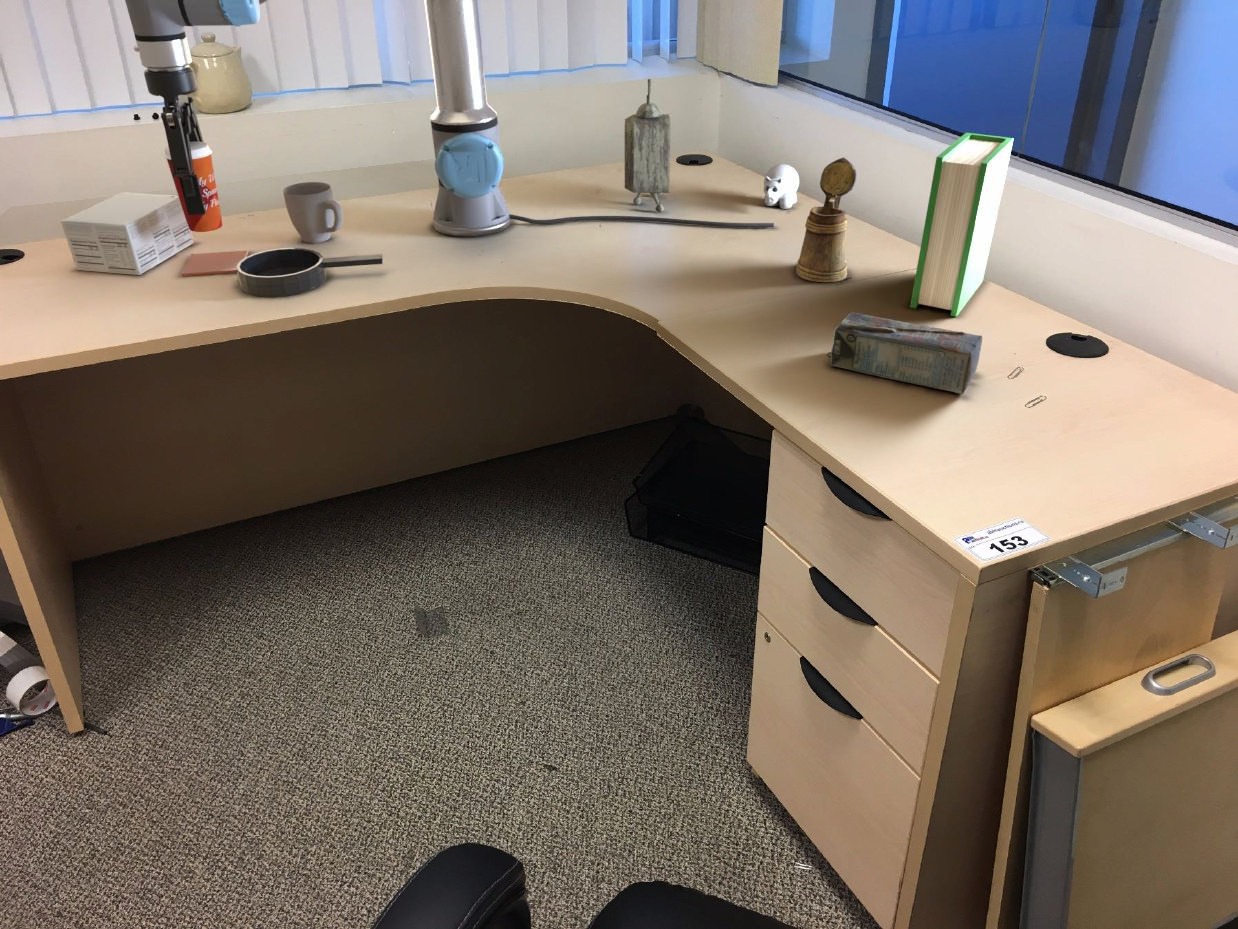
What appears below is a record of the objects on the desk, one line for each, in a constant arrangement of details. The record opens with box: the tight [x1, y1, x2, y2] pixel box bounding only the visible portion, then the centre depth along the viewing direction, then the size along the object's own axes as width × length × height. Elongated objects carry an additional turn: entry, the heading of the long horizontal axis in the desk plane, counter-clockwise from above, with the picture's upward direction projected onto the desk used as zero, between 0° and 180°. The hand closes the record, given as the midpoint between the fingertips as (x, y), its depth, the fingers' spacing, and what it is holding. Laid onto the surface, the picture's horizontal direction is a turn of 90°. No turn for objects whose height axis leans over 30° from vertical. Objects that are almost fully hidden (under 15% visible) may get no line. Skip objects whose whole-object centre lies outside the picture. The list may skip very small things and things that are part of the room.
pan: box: [236, 247, 327, 298], centre depth 162 cm, size 14×14×4 cm
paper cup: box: [163, 141, 223, 233], centre depth 163 cm, size 8×8×14 cm
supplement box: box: [60, 191, 195, 276], centre depth 171 cm, size 17×13×9 cm
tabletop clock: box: [624, 78, 671, 213], centre depth 193 cm, size 14×9×25 cm, turn 179°
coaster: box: [180, 250, 249, 277], centre depth 170 cm, size 10×10×1 cm
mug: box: [282, 181, 344, 244], centre depth 179 cm, size 12×9×10 cm
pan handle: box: [323, 253, 384, 269], centre depth 164 cm, size 10×2×1 cm, turn 101°
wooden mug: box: [795, 157, 857, 283], centre depth 163 cm, size 9×14×18 cm, turn 157°
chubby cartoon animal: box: [763, 163, 800, 210], centre depth 195 cm, size 7×12×8 cm, turn 152°
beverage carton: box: [830, 311, 983, 395], centre depth 132 cm, size 8×19×7 cm, turn 61°
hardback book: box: [909, 132, 1015, 318], centre depth 151 cm, size 18×7×24 cm, turn 149°
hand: (201, 206), depth 165 cm, fingers closed on paper cup, 8 cm apart
